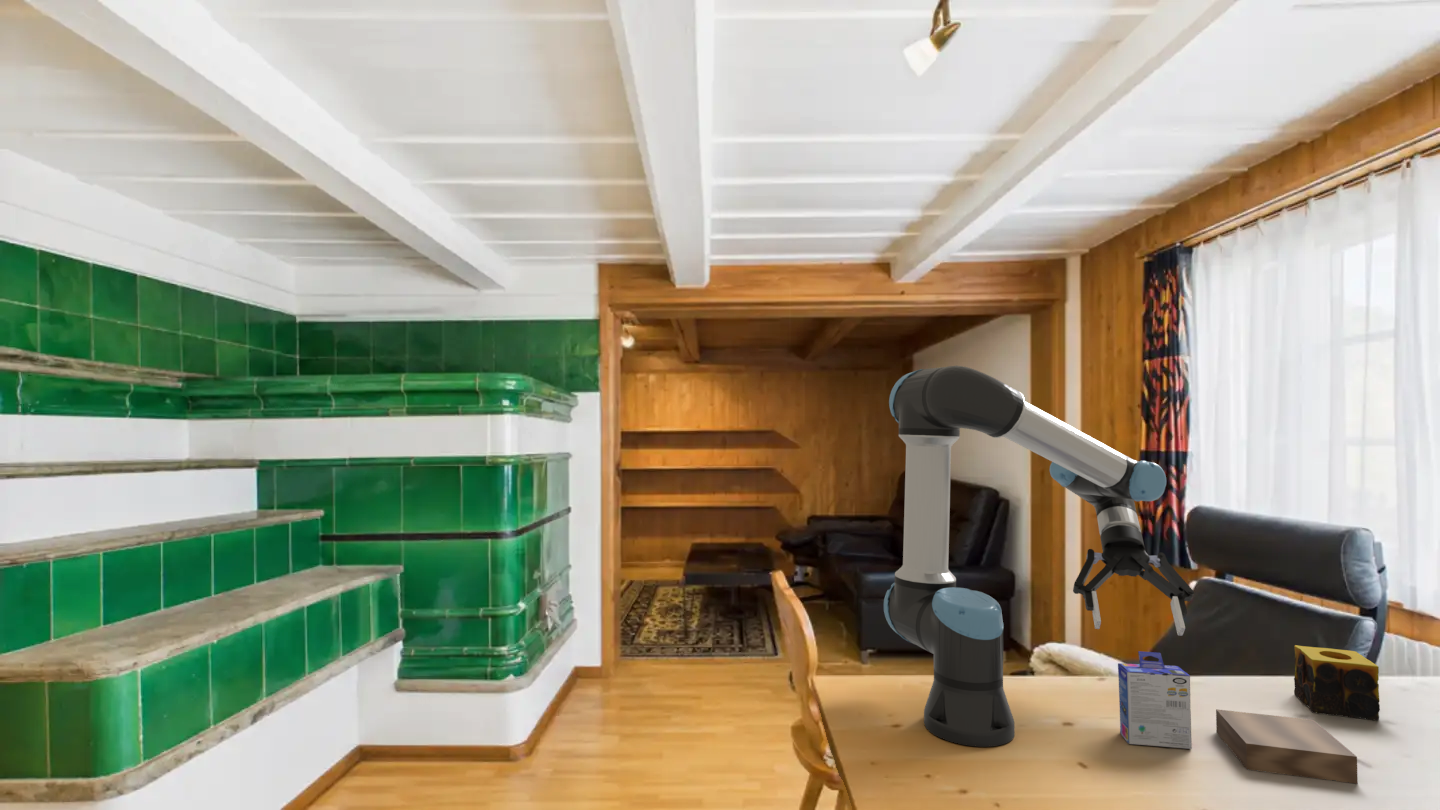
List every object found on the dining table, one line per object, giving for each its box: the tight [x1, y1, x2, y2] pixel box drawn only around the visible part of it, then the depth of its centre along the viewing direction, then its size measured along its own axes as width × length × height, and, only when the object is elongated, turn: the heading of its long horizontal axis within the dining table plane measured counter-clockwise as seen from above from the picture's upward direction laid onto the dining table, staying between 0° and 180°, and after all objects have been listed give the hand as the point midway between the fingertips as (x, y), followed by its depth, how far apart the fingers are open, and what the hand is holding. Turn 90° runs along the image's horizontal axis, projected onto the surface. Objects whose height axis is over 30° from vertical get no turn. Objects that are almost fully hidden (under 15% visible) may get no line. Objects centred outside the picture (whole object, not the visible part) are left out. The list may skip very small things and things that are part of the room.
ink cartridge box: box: [1117, 651, 1193, 750], centre depth 122 cm, size 10×6×14 cm, turn 78°
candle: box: [1293, 644, 1381, 721], centre depth 136 cm, size 10×10×10 cm
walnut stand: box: [1215, 708, 1359, 785], centre depth 116 cm, size 14×14×4 cm
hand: (1139, 628), depth 132 cm, fingers open, 13 cm apart
